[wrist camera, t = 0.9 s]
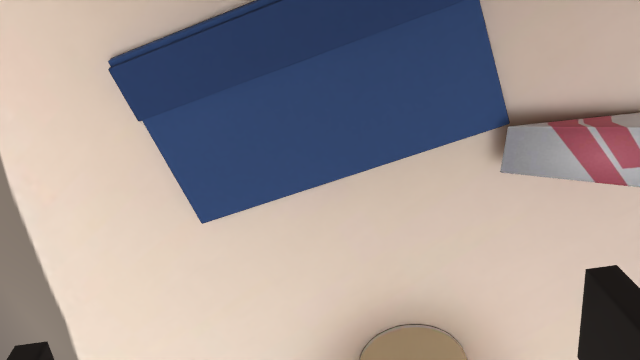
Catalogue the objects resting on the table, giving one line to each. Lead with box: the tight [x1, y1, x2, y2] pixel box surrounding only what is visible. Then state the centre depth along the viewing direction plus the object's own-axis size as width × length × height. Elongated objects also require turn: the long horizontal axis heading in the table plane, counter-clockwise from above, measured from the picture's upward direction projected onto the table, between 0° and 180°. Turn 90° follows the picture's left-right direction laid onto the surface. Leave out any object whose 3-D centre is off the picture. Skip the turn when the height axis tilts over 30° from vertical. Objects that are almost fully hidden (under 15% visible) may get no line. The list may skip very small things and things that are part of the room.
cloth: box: [108, 0, 509, 224], centre depth 31 cm, size 19×11×1 cm, turn 111°
